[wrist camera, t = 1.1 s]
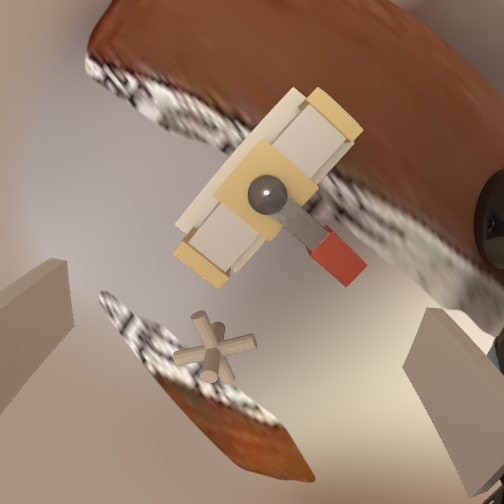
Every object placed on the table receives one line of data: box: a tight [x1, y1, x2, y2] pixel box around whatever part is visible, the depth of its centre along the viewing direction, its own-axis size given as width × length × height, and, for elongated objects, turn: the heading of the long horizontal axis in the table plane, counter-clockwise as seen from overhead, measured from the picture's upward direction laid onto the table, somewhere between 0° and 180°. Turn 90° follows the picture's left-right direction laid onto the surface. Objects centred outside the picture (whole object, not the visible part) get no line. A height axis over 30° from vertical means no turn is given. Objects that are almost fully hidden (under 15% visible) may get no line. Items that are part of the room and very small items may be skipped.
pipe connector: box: [173, 311, 257, 384], centre depth 36 cm, size 10×10×10 cm
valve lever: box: [248, 174, 367, 287], centre depth 25 cm, size 12×3×2 cm, turn 49°
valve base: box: [173, 87, 363, 289], centre depth 30 cm, size 9×20×10 cm, turn 139°
